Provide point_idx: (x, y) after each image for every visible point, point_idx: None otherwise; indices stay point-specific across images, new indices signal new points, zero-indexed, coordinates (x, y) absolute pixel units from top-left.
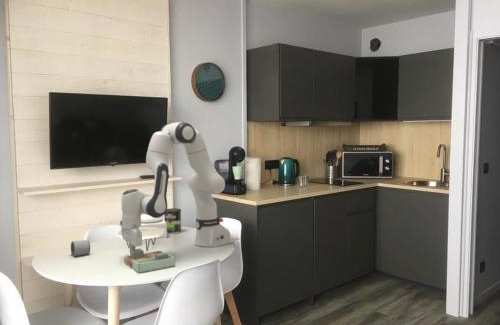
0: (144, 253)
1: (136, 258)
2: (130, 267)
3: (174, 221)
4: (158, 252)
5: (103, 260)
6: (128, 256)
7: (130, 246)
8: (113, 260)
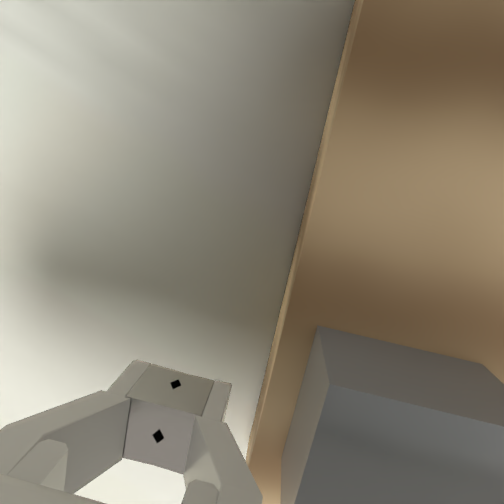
0: (308, 244)
1: None
2: None
3: None
4: (465, 23)
5: None
6: (264, 466)
7: (100, 465)
8: None
